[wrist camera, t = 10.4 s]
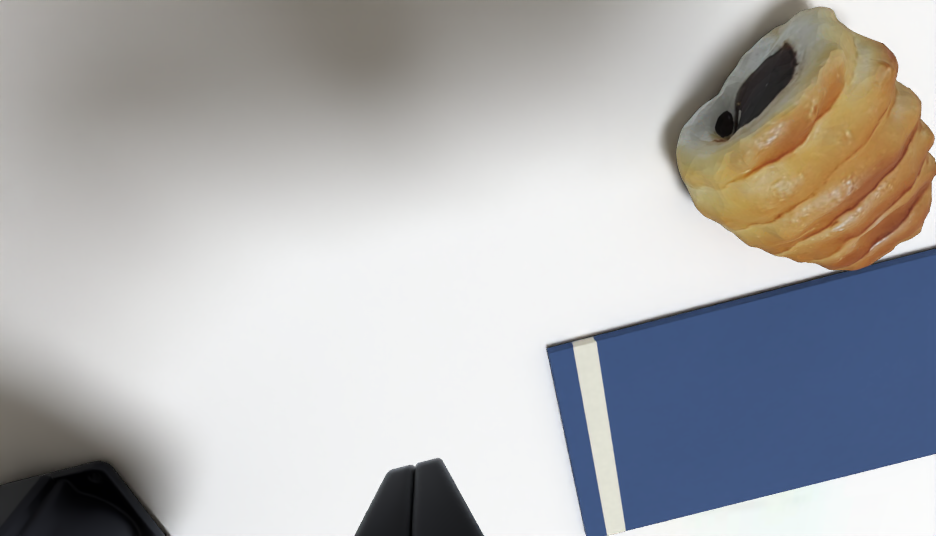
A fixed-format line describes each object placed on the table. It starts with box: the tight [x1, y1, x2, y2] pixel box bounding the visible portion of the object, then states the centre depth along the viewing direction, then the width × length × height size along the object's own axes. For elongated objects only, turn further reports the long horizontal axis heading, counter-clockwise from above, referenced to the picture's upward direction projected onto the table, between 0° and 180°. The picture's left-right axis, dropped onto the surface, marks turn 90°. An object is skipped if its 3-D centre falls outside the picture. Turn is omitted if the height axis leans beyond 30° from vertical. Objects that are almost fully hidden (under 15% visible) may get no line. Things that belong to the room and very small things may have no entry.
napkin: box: [547, 248, 936, 536], centre depth 24 cm, size 12×22×1 cm, turn 104°
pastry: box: [676, 7, 936, 271], centre depth 17 cm, size 9×7×4 cm
